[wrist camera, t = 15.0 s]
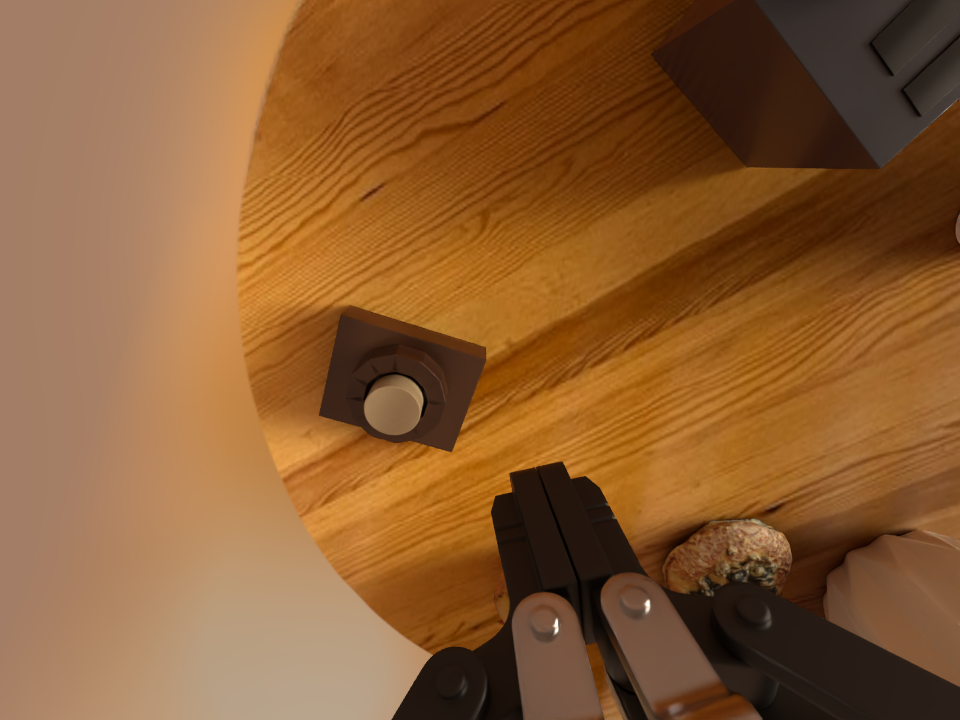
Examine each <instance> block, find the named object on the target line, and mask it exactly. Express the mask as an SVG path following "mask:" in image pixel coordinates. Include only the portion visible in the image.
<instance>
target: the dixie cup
mask: <svg viewBox="0 0 960 720" xmlns="http://www.w3.org/2000/svg"><path fill="white" fill-rule="evenodd" d="M956 237H957V240H958V242H959V244H960V213H959V216H958V218H957V222H956Z"/></svg>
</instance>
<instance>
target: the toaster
mask: <svg viewBox="0 0 960 720" xmlns="http://www.w3.org/2000/svg"><path fill="white" fill-rule="evenodd" d="M651 56H652V57H653V58H654V59H655V60H656V62H657V63H658V64H659V65H660V66H661V67H662V69H663V70H664V71H665V72H666V73H667V74H668V76H669V77H670V78H671V79H672V80H673V82H674V83H675V84H676V85H677V86H678V87H679V89H680V90H681V91H682V92H683V93H684V94H685V96H686V97H687V98H688V99H689V100H690V101H691V103H692V104H693V105H694V106H695V107H696V108H697V110H698V111H699V112H700V113H701V114H702V116H703V117H704V118H705V119H706V120H707V121H708V123H709V124H710V125H711V126H712V127H713V128H714V130H715V131H716V132H717V133H718V134H719V135H720V137H721V138H722V139H723V140H724V141H725V142H726V144H727V145H728V146H729V147H730V148H731V149H732V151H733V152H734V153H735V154H736V155H737V157H738V158H739V159H740V160H741V161H742V162H743V164H744V165H745V166H746V167H755V168H824V169H881V168H882V167H883V166H884V165H886V164H887V163H888V162H889V161H890V160H891V159H892V158H893V157H895V156H896V155H897V154H898V153H899V152H900V151H901V150H902V149H903V148H905V147H906V146H907V145H908V144H909V143H910V142H911V141H912V140H914V139H915V138H916V137H917V136H918V135H919V134H920V133H921V132H922V131H924V130H925V129H926V128H927V127H928V126H929V125H930V124H931V123H933V122H934V121H935V120H936V119H937V118H938V117H939V116H940V115H941V114H943V113H944V112H945V111H946V110H947V109H948V108H949V107H950V106H952V105H953V104H954V103H955V102H956V101H957V100H958V99H959V98H960V0H696V1H695V2H694V3H693V5H692V6H691V7H690V8H689V9H688V10H687V12H686V13H685V14H684V15H683V16H682V18H681V19H680V20H679V21H678V22H677V23H676V25H675V26H674V27H673V28H672V29H671V31H670V32H669V33H668V34H667V35H666V36H665V38H664V39H663V40H662V41H661V42H660V44H659V45H658V46H657V47H656V48H655V49H654V51H653V52H652V53H651Z"/></svg>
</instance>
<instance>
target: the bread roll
mask: <svg viewBox="0 0 960 720" xmlns="http://www.w3.org/2000/svg"><path fill="white" fill-rule="evenodd" d="M666 558H667V559H666V560H665V563H664V565H663V568H662V572H663V573H664V577H665V579H664V581H665V584H666V586H667V587H668V588H669V590H671V591H675V592H678V593H685V594H695V595H706V596H714V594H715V592H716V591H717V589H718V588H719V587H721V586H722V585H724V584H726V583H729V582H736V581H739V582H748V583H752V584H755V585H758V586H760V587H762V588H764V589H766V590H768V591H770V592H772V593H774V594H776V595H778V596H780V597H781V596H782V590H783V588H784V585H785V584H786V580H787V577H788V575H789V572H790V566H791V563H792V553H791V550H790V544H789V543H788V541H787V539H786V537H785V536H784V534H783V533H782V532H779V531H777V530H775V529H774V527H772V526H769V525H768V524H767V525H765V524H764V523H763V522H761V521H760V520H757V519H755V518H754V519H751V520H748V519H746V520H730V521H728V520H726V521H722V520H721V521H711V522H710V523H709V524H708V525H706V526H704V527H703V528H702V529H699V530H698V532H696V533H694V534H693V535H691V537H690V538H689V539H688V540H687V541H685V542H684V543H683V544H681V545H680V546H677V547H675V548H674V549H673V550H672V551H671V553H670V554H669V556H667V557H666Z"/></svg>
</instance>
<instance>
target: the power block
mask: <svg viewBox="0 0 960 720" xmlns="http://www.w3.org/2000/svg"><path fill="white" fill-rule="evenodd" d="M485 362H486V347H483V346H479V345H476V344H473V343H470V342H467V341H463V340H460V339H457V338H454V337H450V336H447V335H444V334H441V333H438V332H434V331H431V330H428V329H425V328H421V327H418V326H415V325H412V324H408V323H405V322H402V321H399V320H396V319H392V318H389V317H386V316H383V315H379V314H376V313H373V312H370V311H367V310H363V309H360V308H357V307H354V306H349V307H348V308H347V309H346V310H345V311H344V312H343V313H342V314H341V316H340V321H339V326H338V330H337V335H336V339H335V344H334V349H333V353H332V358H331V362H330V367H329V371H328V376H327V381H326V385H325V390H324V394H323V399H322V404H321V408H320V413H319V416H322V417H326V418H329V419H333V420H337V421H340V422H344V423H348V424H351V425H355V426H359V427H362V428H363V429H364V430H365V431H366V432H367V433H369V434H370V435H371V436H373V437H376V438H379V439H383V440H387V441H390V442H394V443H401V442H406V441H413V442H417V443H420V444H424V445H428V446H431V447H435V448H438V449H442V450H446V451H449V452H452V451H453V448H454V445H455V443H456V440H457V437H458V435H459V432H460V429H461V426H462V424H463V421H464V418H465V416H466V413H467V410H468V408H469V405H470V402H471V400H472V397H473V394H474V391H475V389H476V386H477V383H478V381H479V378H480V375H481V373H482V370H483V367H484V365H485ZM392 374H397V375H403V376H406V377H408V378H410V379H412V380H413V381H414V382H415V383H416V384H417V385H418V386H419V387H420V389H421V391H422V393H423V399H424V401H423V407H422V411H421V415H420V419H419V421H418V423H417V425H416V426H415V427H414V428H413V429H412V430H410V431H409V432H407V433H404V434H400V435H388V434H384V433H381V432H379V431H377V430H376V429H374V428H373V427H372V426H371V425H370V424H369V422H368V421H367V419H366V417H365V414H364V403H365V400H366V398H367V396H368V394H369V392H370V390H371V388H372V386H373V384H374V383H375V382H376V381H377V380H378V379H380V378H382V377H384V376H387V375H392Z"/></svg>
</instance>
